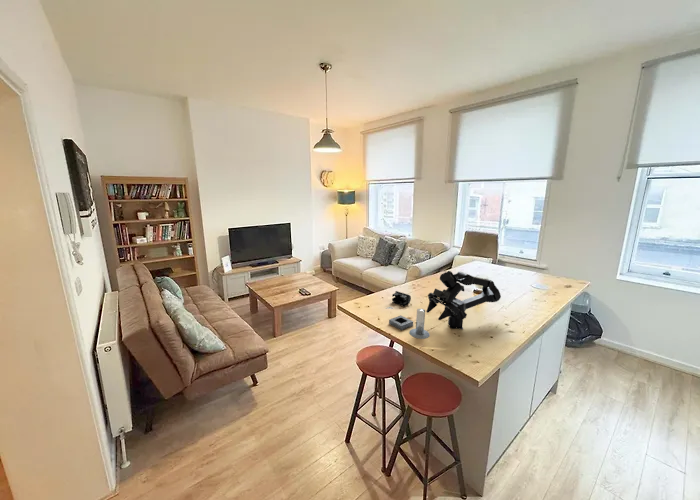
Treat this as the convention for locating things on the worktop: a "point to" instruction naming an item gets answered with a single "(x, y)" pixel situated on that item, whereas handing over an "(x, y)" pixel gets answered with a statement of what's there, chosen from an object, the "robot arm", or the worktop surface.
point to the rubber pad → (425, 335)
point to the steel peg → (420, 321)
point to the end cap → (401, 298)
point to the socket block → (400, 322)
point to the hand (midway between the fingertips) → (432, 316)
